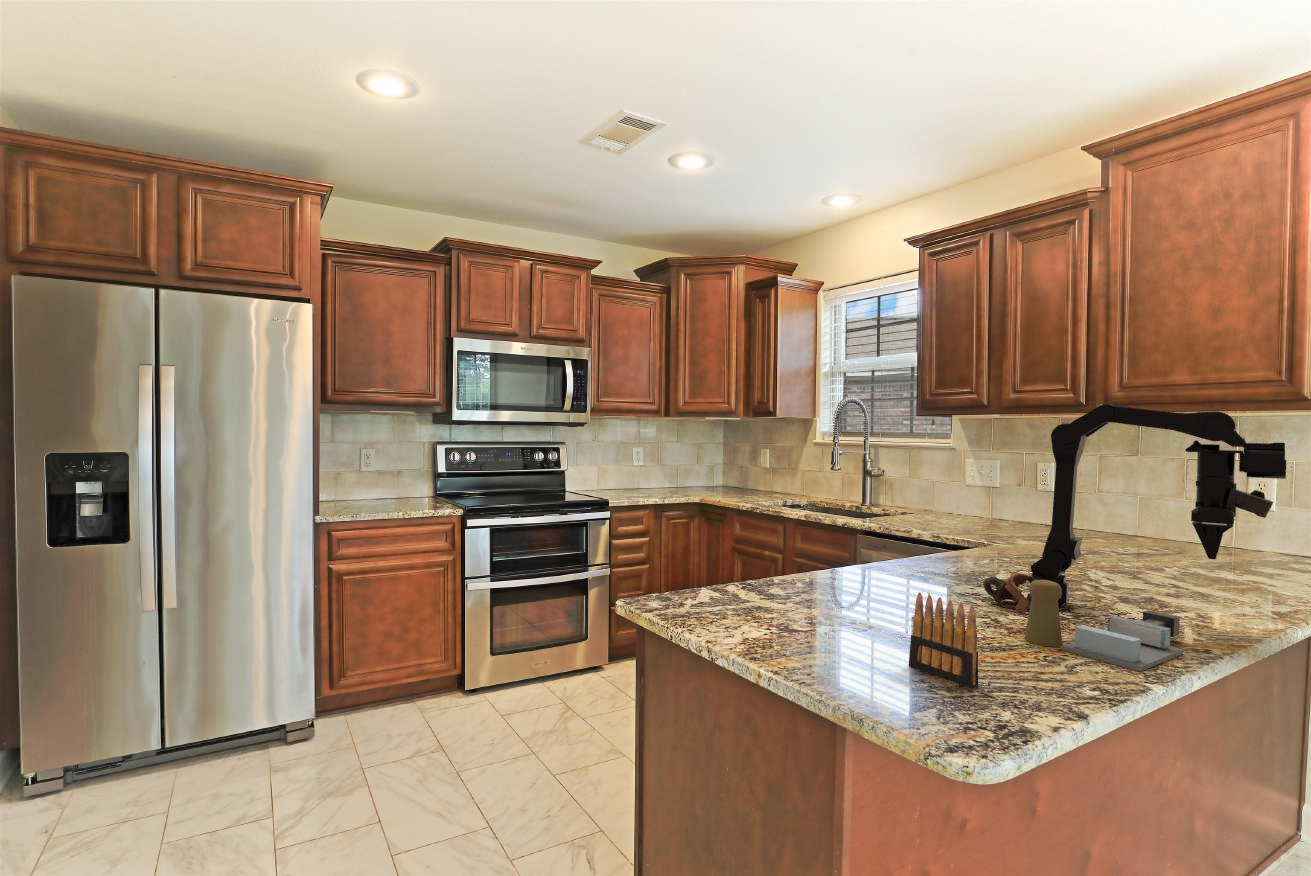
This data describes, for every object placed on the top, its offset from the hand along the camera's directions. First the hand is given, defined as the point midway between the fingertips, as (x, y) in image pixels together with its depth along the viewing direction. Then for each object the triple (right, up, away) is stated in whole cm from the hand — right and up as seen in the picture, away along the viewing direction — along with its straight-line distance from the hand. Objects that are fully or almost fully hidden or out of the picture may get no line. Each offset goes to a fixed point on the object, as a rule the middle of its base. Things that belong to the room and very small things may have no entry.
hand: (1213, 555), depth 136 cm
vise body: (-24, -14, -13) cm, 31 cm away
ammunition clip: (-65, -14, -29) cm, 72 cm away
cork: (-39, -14, -10) cm, 42 cm away
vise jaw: (-19, -13, -9) cm, 25 cm away
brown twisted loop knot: (-32, -14, +14) cm, 37 cm away
